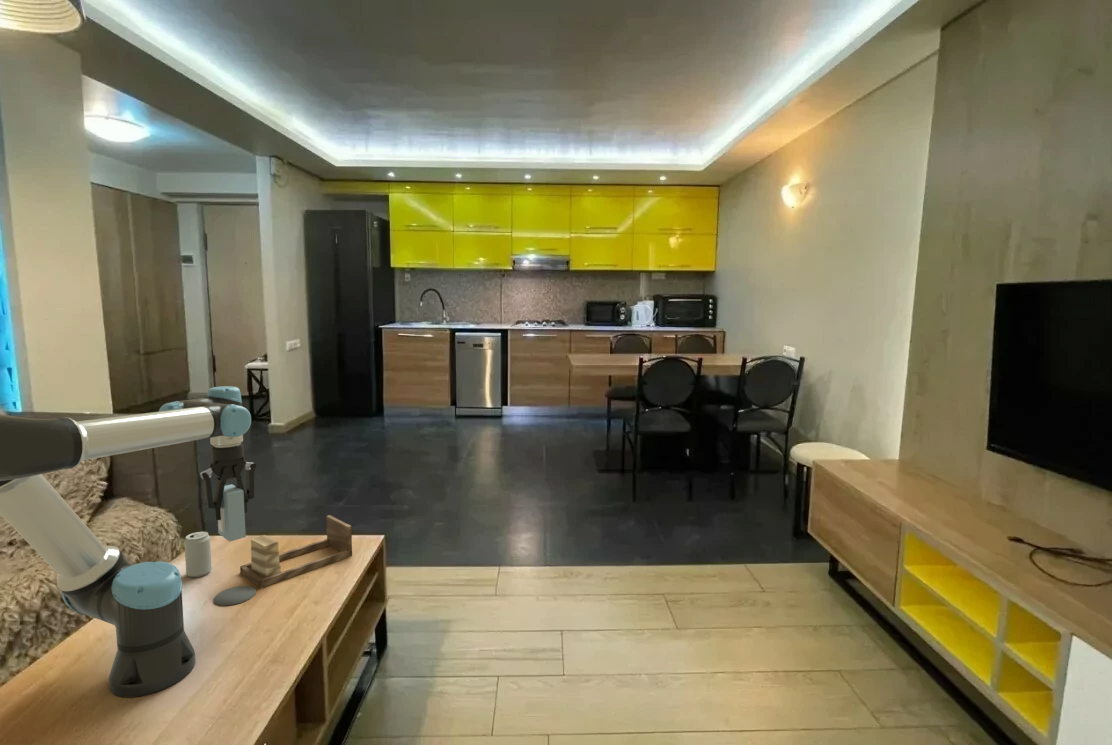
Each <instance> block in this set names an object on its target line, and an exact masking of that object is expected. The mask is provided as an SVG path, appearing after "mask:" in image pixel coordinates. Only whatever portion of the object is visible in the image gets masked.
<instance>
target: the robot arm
mask: <svg viewBox="0 0 1112 745" xmlns="http://www.w3.org/2000/svg"><path fill="white" fill-rule="evenodd" d="M206 395H207V396H205V397H200V398H192V399H191V398H190V399H185V400H175V401H171V402H166V403H164V404H162V406H160V408H159V410H158V411H153V412H152V411H151V412H145V413H136V414H129V415H121V416H119V415H118V416H112V417H103V418H96V419H88V420H78V421H76V420H74V419H73V418H70V417H58V418H30V417H22V416H21V417H20V416H14V415H7V414H0V516H1V517H2V518H3V519H4V520H5V521H6V522H7V523H8V524H9V525H10V527H12V529H14V530H15V531H16V533H18V534H19V535H20V536H21V538H23V540H25V542H27V543H28V545H29V546H30V547H31V548H32V549H33V550H34V551H35V552H36V553H37V554H38V555H39V556H40V557H41V558H42V559H43V560H44V561H45V563H47V564H48V565H49V566H50V567H51V568H52V569H53V571H55V572H56V574H57V575H58V577H57V580H56V586H57V587H56V588H58V590H60V591H61V598H62V600H63V602H64V603H65V604H66V606H67V607H68V608H70V609H71V610H72V611H74V612H75V613H77V614H79V615H83V616H86V617H92V618H94V619H97V620H99V621H102V622H105V623H108V624H111V625H113V626H114V627H115V632H116V633H115V635H116V647H117V649H116V653H115V656H114V659H113V662H112V666H111V669H110V673H109V676H108V685H109V687H108V688H109V690H110V693H111V694H113V695H115V696H117V697H122V698H134V697H135V698H136V697H142V696H146V695H150V694H154V693H157V692H159V691H162V690H165V689H167V688H169V687H170V686H173V685H174V684H177V683H178V682H180V681H181V680H182V679H184V678H185V677H187V676H188V675H189V674H190V673H191V671H193V669H194V668H195V665H196V653H195V652H196V651H195V648H194V647H193V645H192V643H191V641H190V639H189V638H188V635H187V634H186V632H185V624H184V610H183V609H184V606H183V590H182V588H183V581H182V578H181V577H182V576H181V573H180V571H179V568H178V567H177V566H176V565H174V564H172V563H169V562H167V561H158V560H156V561H155V562H152V561H145V562H144V561H143V562H139V563H135V564H133V563H131V562H130V560H129V559H128V558H127V557H126V556H125V555H124V554H123V552H121V550H120V549H119V548H118V547H117V546H114V545H104V544H103V543H102V542H101V541H100V539H99V538H98V537H97V536H96V534H94V533H93V532H92V530H91V529H90V527H88V526H87V525H86V524H85V522H84V521H83V520H82V519H81V518H80V516H79V515H78V514H77V513H76V512H75V511H74V510H73V508H72V507H71V506H70V505H69V504H68V503H67V501H66V500H65V499H64V498H63V497H62V496H61V494H60V493H58V491H57V490H56V489H55V488H54V487H53V485H52V484H51V483H50V482H49V481H48V480H47V478H46V477H45V476H44V475H43V474H48V473H54V472H59V471H63V470H70V469H74V468H76V467H78V466H79V465H80V464H81V463H82V461H87V460H93V459H98V458H103V457H104V458H105V457H111V456H115V455H116V456H117V455H121V454H127V453H133V452H137V451H143V450H149V449H155V448H160V447H166V446H171V445H176V444H182V443H186V442H193V441H198V440H204V439H209V440H210V442H209V443H210V445H212V446H211V447H210V454H211V455H210V456H211V459H210V460H211V464H210V465H209V468H207V469H206V470H200V471H199V473H198V474H199V477H200V478H201V480H202V489H203V499H204V506H206V508H208V509H213V519H214V520H216V521H217V528H218V527H219V530H220V531H221V532H225V514H224V508H223V507H222V506H221V503H222V498H223V492H224V486H226V483H227V480H228V479H229V480H230V479H232V480H233V482H234V486H236V487H237V488H239V489H241V490H243V492H244V512H245V514H247V513H248V503H249V500H253V499H254V498H255V472H256V468H257V463H255V462H253V461H250V462H249V461H246V459H245V450H244V448H245V446H244V444H243V443H242V442H244V434H246V433H247V432H248V431H249V429H250V427H251V424H252V415H251V413H250V411H249V410H248V408H246V407H244V406H243V401H242V393H241V390H240V388H239V387H237V386H231V385H230V386H229V385H225V386H214V387H210V388H209V389H208V391H207V394H206ZM243 469H245V487H244V483H243V479H242V474H241V473H242V471H243ZM212 473H213V474H214V475H215V476H216V480H215V481H216V484H215V489H214V494H213V491H212V490H213V489H212V487H213V486H212V480H211V478H212Z"/></svg>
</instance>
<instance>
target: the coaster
mask: <svg viewBox="0 0 1112 745" xmlns="http://www.w3.org/2000/svg"><path fill="white" fill-rule="evenodd" d="M255 592H256V588H254V587H253V586H251V585H250V586H249V585H240V586H239V585H238V586H233V587H230V588H226V589H224V590H221V591H220V592H219V593H217V594H216V595H215V596H214V597H213V603H214V604H215V605H217V606H221V607H224V606H225V607H227V606H235V605H239V604H242V603H245V602H248V601H249V600H251V599H252V598H253V597H255V595H256V593H255ZM250 598H251V599H250Z"/></svg>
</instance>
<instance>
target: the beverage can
mask: <svg viewBox="0 0 1112 745" xmlns="http://www.w3.org/2000/svg"><path fill="white" fill-rule="evenodd" d="M183 543H184V558H185V561H184V562H185V574H186V576H188V577H190V578H200V577H203V576H206V575H208V573H210V572H211V570H212V553H211V552H212V550H211V536H210V535H209V532H208V531H197V532H192V533H190V534H188V535H186V536H185V540H184V542H183Z"/></svg>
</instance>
